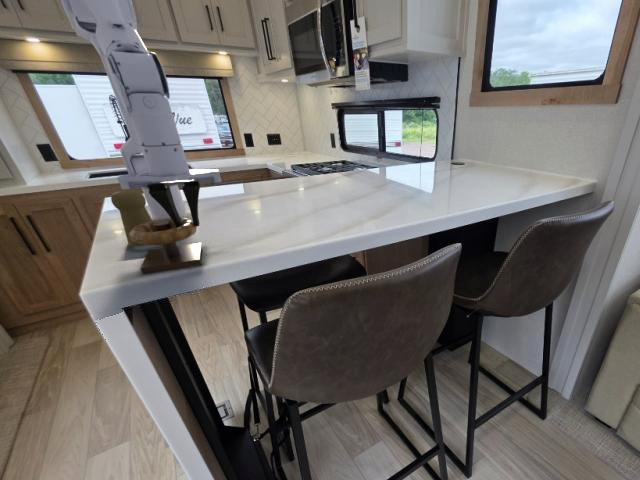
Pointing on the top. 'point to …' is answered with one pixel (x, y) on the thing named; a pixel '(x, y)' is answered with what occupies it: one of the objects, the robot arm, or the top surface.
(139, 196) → the cork
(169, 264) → the holder
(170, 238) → the ring
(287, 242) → the top surface
